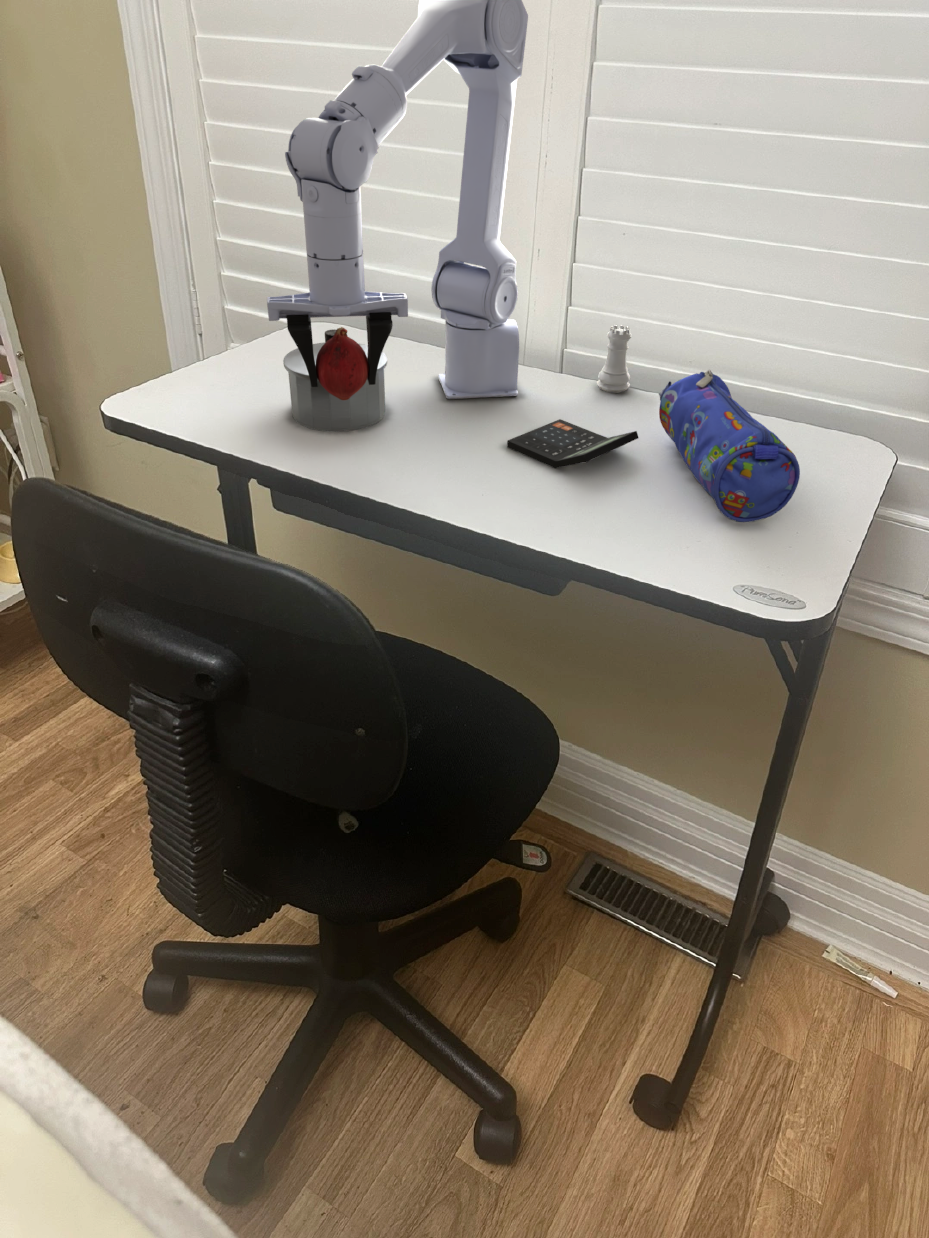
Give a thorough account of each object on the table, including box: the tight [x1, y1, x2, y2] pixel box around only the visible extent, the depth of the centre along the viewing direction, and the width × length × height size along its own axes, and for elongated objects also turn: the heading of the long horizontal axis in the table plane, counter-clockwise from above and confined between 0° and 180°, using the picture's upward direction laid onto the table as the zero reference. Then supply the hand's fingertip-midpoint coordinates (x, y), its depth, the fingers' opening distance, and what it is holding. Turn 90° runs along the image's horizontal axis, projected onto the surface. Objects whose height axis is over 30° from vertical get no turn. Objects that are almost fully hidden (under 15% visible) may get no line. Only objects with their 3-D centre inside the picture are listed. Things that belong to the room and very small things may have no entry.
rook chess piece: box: [596, 324, 633, 394], centre depth 119 cm, size 4×4×8 cm
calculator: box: [506, 418, 639, 469], centre depth 104 cm, size 9×12×3 cm
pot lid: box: [282, 328, 388, 381], centre depth 108 cm, size 12×12×4 cm
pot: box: [287, 368, 386, 433], centre depth 110 cm, size 11×11×6 cm
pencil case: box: [658, 369, 801, 523], centre depth 97 cm, size 22×9×10 cm, turn 6°
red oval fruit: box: [316, 326, 369, 400], centre depth 98 cm, size 6×6×8 cm
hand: (342, 382), depth 99 cm, fingers closed on red oval fruit, 6 cm apart
